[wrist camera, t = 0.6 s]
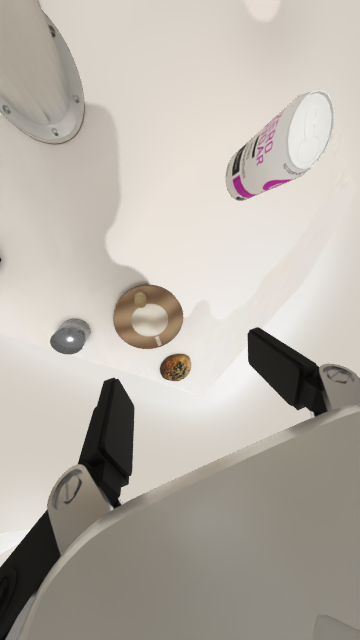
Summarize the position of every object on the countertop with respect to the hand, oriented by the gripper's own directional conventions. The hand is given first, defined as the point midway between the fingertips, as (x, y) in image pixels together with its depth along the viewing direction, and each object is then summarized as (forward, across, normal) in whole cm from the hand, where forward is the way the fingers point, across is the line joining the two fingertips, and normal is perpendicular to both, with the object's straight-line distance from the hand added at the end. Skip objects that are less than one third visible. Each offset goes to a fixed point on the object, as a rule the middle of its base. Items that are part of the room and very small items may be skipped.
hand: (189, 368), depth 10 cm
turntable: (+29, +4, +7) cm, 30 cm away
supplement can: (+30, -25, -17) cm, 43 cm away
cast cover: (+31, +22, +5) cm, 38 cm away
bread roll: (+32, +1, +29) cm, 43 cm away
